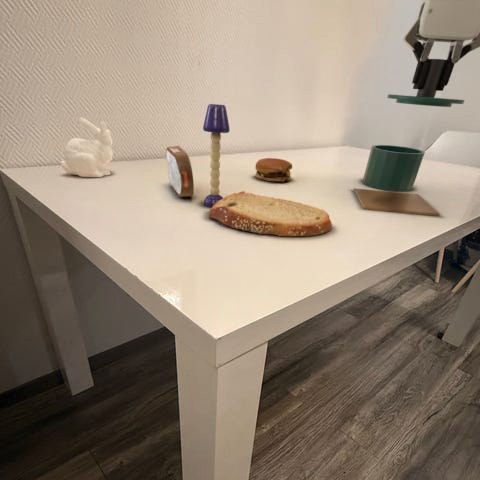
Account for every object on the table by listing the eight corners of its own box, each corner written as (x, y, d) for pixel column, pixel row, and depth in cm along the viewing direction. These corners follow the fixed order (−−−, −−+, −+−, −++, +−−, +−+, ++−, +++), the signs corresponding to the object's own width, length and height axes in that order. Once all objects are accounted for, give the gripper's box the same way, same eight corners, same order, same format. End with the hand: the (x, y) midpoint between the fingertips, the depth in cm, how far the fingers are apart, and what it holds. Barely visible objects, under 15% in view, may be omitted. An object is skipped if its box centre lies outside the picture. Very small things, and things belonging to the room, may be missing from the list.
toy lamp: (203, 200, 68) (202, 102, 58) (226, 200, 68) (229, 104, 58) (203, 207, 64) (202, 104, 54) (228, 208, 64) (231, 106, 54)
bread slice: (340, 230, 57) (345, 209, 55) (254, 248, 49) (256, 224, 47) (277, 201, 69) (279, 183, 67) (200, 212, 61) (199, 191, 59)
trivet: (417, 196, 80) (417, 194, 79) (438, 216, 67) (439, 213, 67) (353, 190, 81) (354, 188, 80) (363, 209, 69) (364, 206, 68)
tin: (195, 202, 66) (194, 155, 61) (179, 202, 65) (177, 155, 60) (180, 183, 78) (178, 142, 73) (166, 183, 77) (163, 142, 72)
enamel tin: (405, 181, 92) (416, 147, 87) (418, 193, 82) (431, 155, 77) (359, 177, 93) (368, 143, 88) (367, 188, 83) (377, 151, 78)
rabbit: (115, 170, 84) (107, 115, 77) (121, 179, 78) (112, 119, 71) (63, 171, 80) (49, 113, 73) (63, 181, 73) (48, 118, 66)
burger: (255, 173, 90) (257, 154, 87) (289, 176, 90) (292, 157, 87) (253, 182, 82) (255, 161, 79) (291, 185, 82) (294, 164, 79)
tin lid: (446, 105, 68) (461, 64, 64) (474, 109, 58) (494, 59, 54) (380, 100, 69) (390, 59, 66) (395, 103, 59) (409, 54, 55)
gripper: (516, -44, 54) (464, 92, 65) (412, -49, 55) (378, 86, 66) (544, -61, 48) (482, 93, 58) (426, -65, 49) (386, 86, 60)
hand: (427, 88), depth 62 cm, fingers closed on tin lid, 3 cm apart
